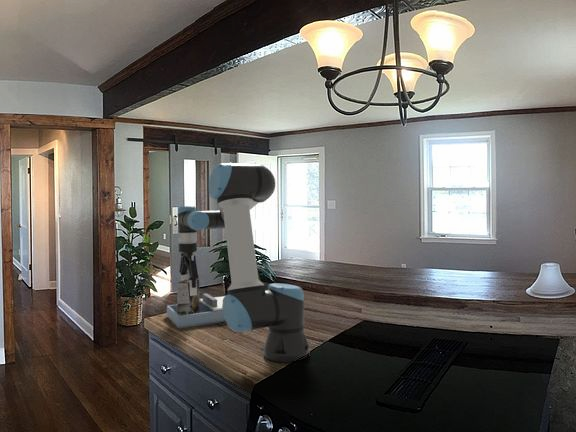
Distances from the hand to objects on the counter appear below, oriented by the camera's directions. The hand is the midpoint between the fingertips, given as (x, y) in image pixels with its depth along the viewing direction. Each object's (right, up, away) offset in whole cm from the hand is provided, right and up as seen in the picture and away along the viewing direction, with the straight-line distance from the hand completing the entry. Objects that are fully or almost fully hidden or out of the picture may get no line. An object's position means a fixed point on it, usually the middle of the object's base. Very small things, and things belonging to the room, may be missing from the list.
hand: (188, 292), depth 185 cm
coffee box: (0, -11, +1) cm, 11 cm away
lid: (+15, -6, +9) cm, 19 cm away
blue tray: (+3, -12, +2) cm, 12 cm away
